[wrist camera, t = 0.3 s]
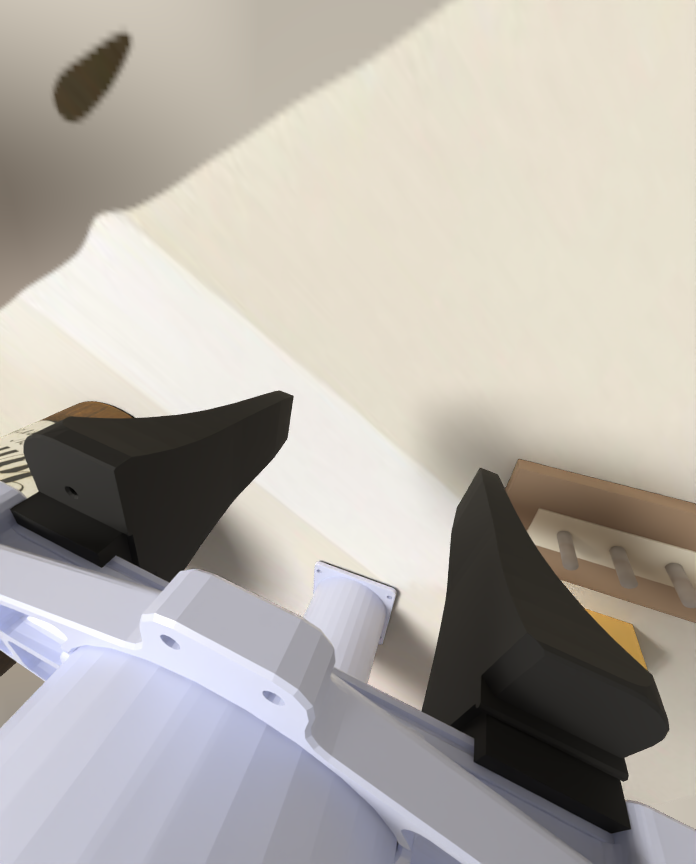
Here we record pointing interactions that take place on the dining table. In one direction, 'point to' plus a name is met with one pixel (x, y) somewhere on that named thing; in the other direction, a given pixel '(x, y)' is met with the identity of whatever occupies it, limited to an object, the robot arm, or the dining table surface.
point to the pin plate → (610, 536)
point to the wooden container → (10, 466)
